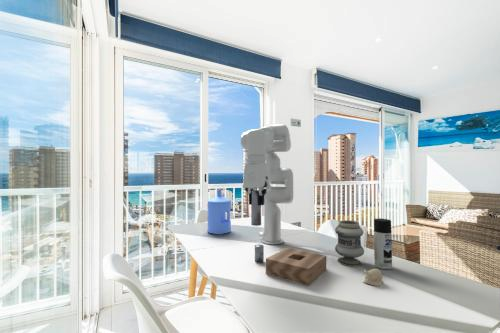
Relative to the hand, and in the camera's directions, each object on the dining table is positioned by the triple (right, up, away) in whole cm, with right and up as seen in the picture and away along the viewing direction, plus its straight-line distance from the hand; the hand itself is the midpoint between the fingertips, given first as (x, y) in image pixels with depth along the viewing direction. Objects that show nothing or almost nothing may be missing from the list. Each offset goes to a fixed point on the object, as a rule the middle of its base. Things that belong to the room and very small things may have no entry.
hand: (256, 204), depth 105 cm
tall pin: (0, -8, 0) cm, 8 cm away
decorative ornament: (+42, -27, -12) cm, 51 cm away
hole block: (+16, -27, -2) cm, 32 cm away
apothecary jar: (+42, -27, +9) cm, 51 cm away
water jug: (-23, -28, +66) cm, 76 cm away
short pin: (+1, -27, +11) cm, 29 cm away
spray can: (+54, -27, +4) cm, 61 cm away
